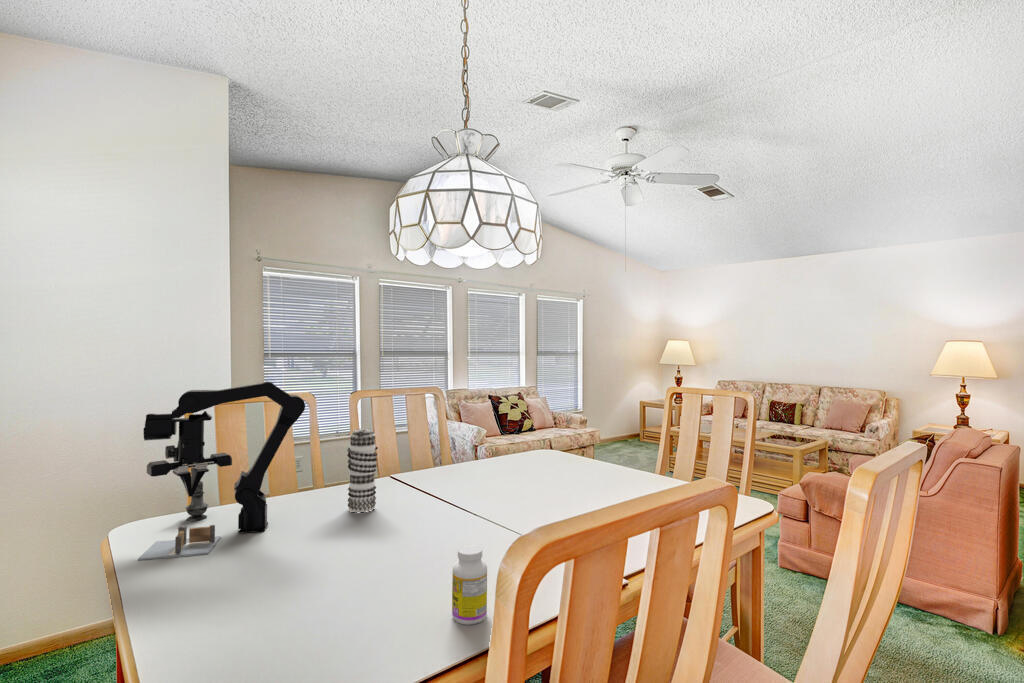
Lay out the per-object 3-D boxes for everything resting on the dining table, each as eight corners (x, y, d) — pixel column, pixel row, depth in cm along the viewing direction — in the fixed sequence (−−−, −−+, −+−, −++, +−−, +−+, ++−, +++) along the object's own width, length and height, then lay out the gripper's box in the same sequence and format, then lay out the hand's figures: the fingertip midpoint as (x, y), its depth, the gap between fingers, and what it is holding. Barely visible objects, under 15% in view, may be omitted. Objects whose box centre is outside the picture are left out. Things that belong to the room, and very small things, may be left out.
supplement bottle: (452, 608, 102) (453, 543, 102) (486, 607, 102) (486, 542, 102) (451, 627, 95) (452, 556, 95) (487, 625, 96) (488, 555, 96)
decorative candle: (351, 504, 168) (352, 427, 168) (379, 504, 168) (380, 427, 168) (342, 513, 159) (343, 432, 159) (373, 513, 159) (374, 432, 159)
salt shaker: (197, 522, 150) (198, 480, 150) (180, 520, 151) (180, 479, 151) (213, 515, 155) (213, 475, 156) (196, 514, 157) (196, 474, 157)
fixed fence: (215, 542, 135) (215, 523, 135) (213, 544, 133) (213, 525, 133) (179, 545, 133) (179, 526, 133) (176, 547, 131) (177, 528, 131)
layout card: (220, 537, 138) (220, 535, 138) (208, 554, 127) (208, 552, 127) (156, 542, 134) (156, 541, 134) (137, 560, 123) (137, 558, 123)
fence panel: (178, 545, 130) (178, 530, 130) (184, 544, 131) (184, 529, 131) (174, 553, 125) (175, 538, 125) (180, 552, 125) (180, 537, 126)
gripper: (219, 430, 150) (218, 484, 150) (142, 438, 137) (141, 497, 137) (233, 435, 143) (232, 491, 142) (152, 443, 129) (151, 506, 129)
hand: (190, 496), depth 138 cm, fingers closed
